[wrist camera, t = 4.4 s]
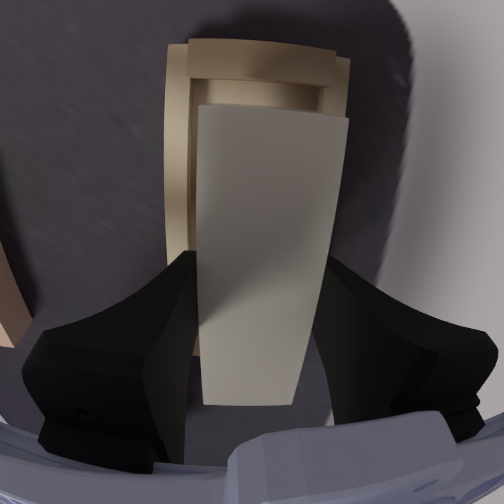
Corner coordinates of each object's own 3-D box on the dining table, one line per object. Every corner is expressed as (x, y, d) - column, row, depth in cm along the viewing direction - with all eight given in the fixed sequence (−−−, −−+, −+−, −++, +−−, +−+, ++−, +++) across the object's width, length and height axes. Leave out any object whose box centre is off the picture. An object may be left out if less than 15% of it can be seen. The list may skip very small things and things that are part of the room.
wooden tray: (300, 322, 23) (309, 356, 20) (178, 319, 23) (172, 354, 19) (337, 63, 15) (360, 56, 12) (176, 51, 14) (162, 39, 11)
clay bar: (281, 346, 17) (291, 404, 13) (207, 344, 16) (203, 404, 13) (314, 110, 11) (349, 118, 8) (210, 102, 11) (198, 105, 7)
